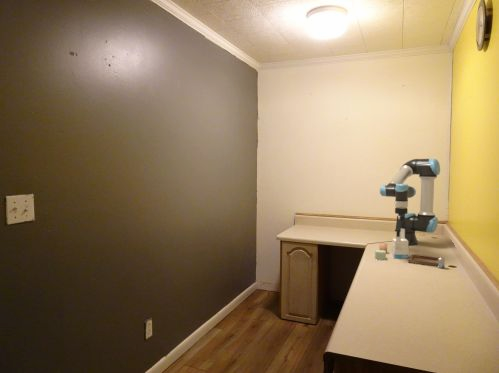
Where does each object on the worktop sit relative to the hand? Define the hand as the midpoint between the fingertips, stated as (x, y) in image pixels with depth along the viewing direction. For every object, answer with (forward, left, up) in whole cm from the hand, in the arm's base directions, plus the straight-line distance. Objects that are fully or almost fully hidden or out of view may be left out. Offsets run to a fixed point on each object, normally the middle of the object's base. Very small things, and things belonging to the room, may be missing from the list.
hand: (400, 240), depth 234 cm
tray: (+4, +15, -11) cm, 19 cm away
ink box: (0, 0, -12) cm, 12 cm away
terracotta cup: (-6, -12, -11) cm, 18 cm away
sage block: (+11, -10, -12) cm, 19 cm away
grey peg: (+13, +25, -11) cm, 30 cm away
